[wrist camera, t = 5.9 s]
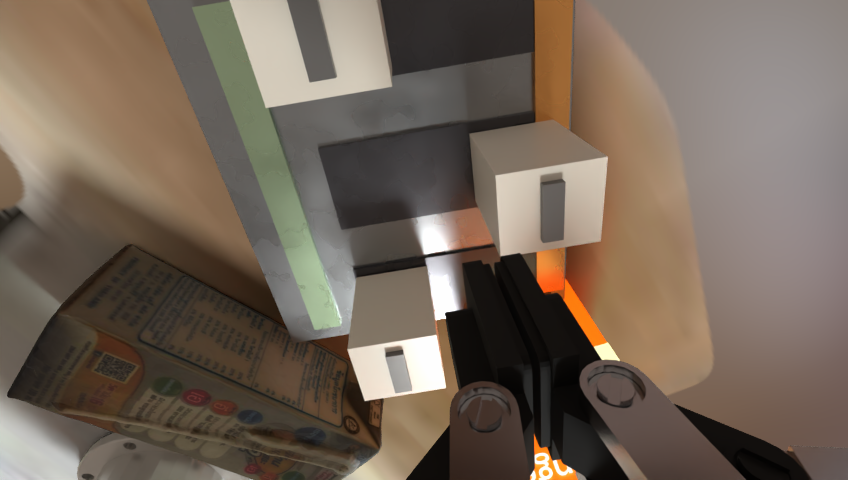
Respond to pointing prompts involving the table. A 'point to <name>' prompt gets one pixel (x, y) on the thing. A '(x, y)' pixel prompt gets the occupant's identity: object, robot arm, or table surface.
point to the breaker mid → (538, 187)
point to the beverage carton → (199, 376)
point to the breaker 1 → (314, 47)
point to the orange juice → (554, 475)
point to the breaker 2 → (395, 335)
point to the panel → (375, 147)
